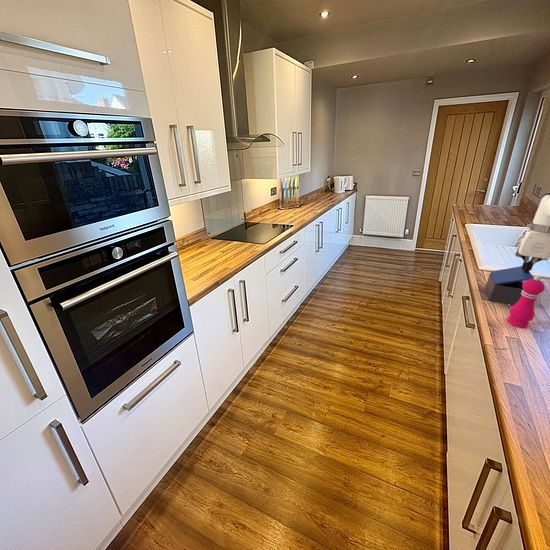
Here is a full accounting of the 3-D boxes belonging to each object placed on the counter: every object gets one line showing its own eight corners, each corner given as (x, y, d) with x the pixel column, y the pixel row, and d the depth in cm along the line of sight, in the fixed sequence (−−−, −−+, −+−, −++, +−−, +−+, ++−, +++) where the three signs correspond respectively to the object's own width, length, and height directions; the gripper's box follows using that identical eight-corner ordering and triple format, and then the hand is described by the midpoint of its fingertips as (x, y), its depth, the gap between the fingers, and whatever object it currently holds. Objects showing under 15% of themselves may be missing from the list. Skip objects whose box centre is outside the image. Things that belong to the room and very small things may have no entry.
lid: (525, 267, 126) (525, 265, 126) (533, 279, 115) (533, 277, 115) (490, 273, 133) (490, 271, 133) (495, 284, 122) (494, 283, 122)
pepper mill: (532, 330, 106) (555, 282, 97) (508, 326, 108) (529, 278, 100) (524, 320, 112) (546, 273, 104) (502, 316, 114) (521, 270, 106)
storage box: (515, 293, 132) (521, 278, 128) (521, 307, 121) (529, 291, 117) (484, 288, 136) (490, 273, 133) (488, 300, 125) (494, 285, 122)
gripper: (521, 228, 113) (505, 270, 121) (571, 233, 107) (550, 278, 115) (517, 223, 119) (502, 264, 127) (564, 228, 113) (545, 271, 121)
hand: (525, 271), depth 121 cm, fingers closed
